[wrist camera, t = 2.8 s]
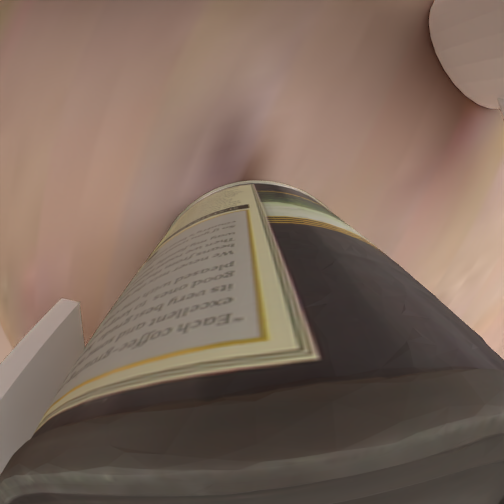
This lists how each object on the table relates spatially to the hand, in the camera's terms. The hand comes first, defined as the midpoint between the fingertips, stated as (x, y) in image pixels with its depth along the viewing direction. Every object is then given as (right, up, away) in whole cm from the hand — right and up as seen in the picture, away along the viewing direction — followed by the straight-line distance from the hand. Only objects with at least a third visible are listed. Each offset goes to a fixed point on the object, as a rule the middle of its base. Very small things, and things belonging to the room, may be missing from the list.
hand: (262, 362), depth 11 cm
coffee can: (0, +2, +6) cm, 6 cm away
